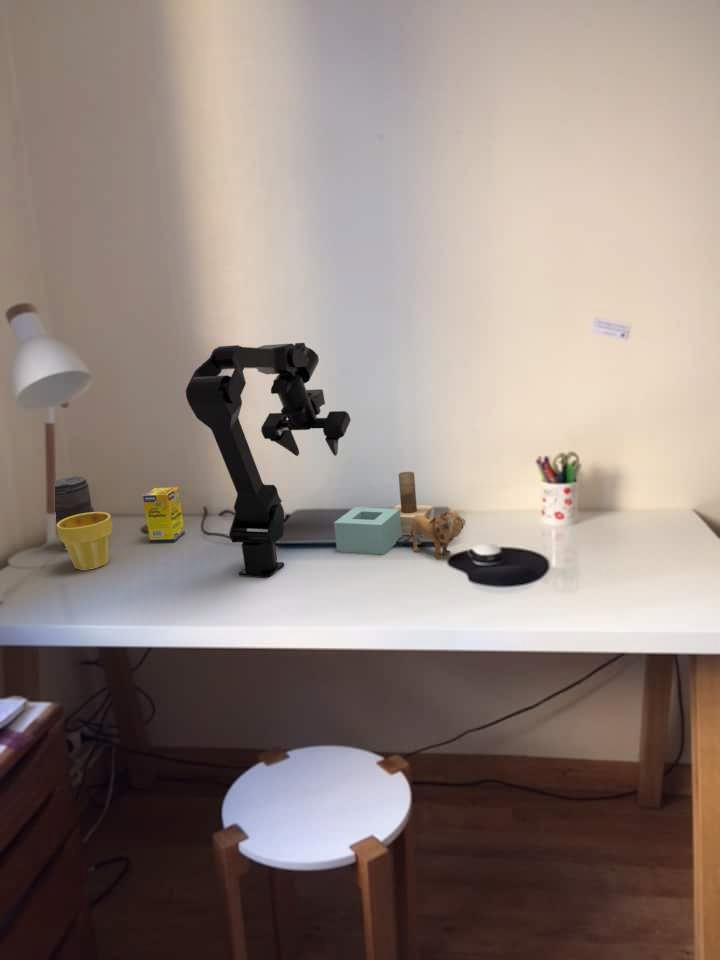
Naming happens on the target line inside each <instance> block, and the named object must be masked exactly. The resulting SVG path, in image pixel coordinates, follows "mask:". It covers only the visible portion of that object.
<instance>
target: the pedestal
mask: <svg viewBox="0 0 720 960" xmlns="http://www.w3.org/2000/svg"><path fill="white" fill-rule="evenodd" d="M416 505H417V504H416ZM392 509H400V515H401V528H402V533H410V532H411V524H412V519H413V518H414V517H415V516H416V515H423V516H425V517H426V518H427V519H429V520H433V519H434V518H435V507H434V505H422V504H421V505H417V511H416V512H414V513H403V512H402V511H401V504H397V505H395V506H394V507H392Z"/></svg>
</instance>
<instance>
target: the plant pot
mask: <svg viewBox="0 0 720 960" xmlns="http://www.w3.org/2000/svg"><path fill="white" fill-rule="evenodd" d="M56 531H57V535H58V539H59V541H60V543H61V542H63V543H64V545H65V547H66V549H67V550H66V551H67V553H68V555H69V557H70V559H71V562H72V565H73V566H74V569H76V568H77V569H90V568H96V567H99V566H102V565H104V566H106V565H108V564H109V562H108V561H110V541H111V533H113V531H114V529H113V520H112V516H111V514H110V513H109V512H103V511H94V512H89V513H83V514H78V515H74V516H70V517H68V518H65V519H63V520H61V521H60V522H58V523H57V524H56ZM63 543H62V544H63ZM105 564H106V565H105ZM102 567H103V566H102ZM77 569H76V570H77Z"/></svg>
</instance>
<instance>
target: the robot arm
mask: <svg viewBox="0 0 720 960" xmlns="http://www.w3.org/2000/svg"><path fill="white" fill-rule="evenodd" d="M319 361H320V359H319V355H318V354H317V353H316V352H315V350H313V349H311V348H310V347H307V346H306V343H305V342H297V343H296V342H295V344H293V343H281V344H280V343H278V344H265V345H261V346H258V347H249V346H242V345H241V346H240V345H238V344H236V345H222V346H221V345H220V346H217V347H216V348H214V349H213V350H212V352H211V354H210V356H209V358H207V360H206V361H204V362H203V363H202V364H201V365H200V366H199V367H197V368H196V369H195V370H194V372H193V374H192V376H191V378H190V381H189V382H188V384H187V386H186V390H185V399H186V400H187V404H188V406H189V407H190V409H191V410H192V412H193V414H194V415H195V418H196V419H197V420H199V421H200V422H201V423H203V424H204V425H205V426H206V427H208V429H210V431H211V432H212V435H213V438H214V439H215V442H216V445H217V447H218V449H219V451H220V455H221V457H222V460H223V462H224V464H225V466H226V467H225V468H226V470H227V472H228V474H229V476H230V479H231V482H232V484H233V486H234V489H235V492H236V494H237V495H236V499H235V502H234V505H233V510H234V517H233V520H232V524H231V527H230V530H229V533H228V535H229V538H230V540H231V543H232V544H233V543H234V544H235V543H241V549H242V556H243V564H244V567H243V568H242V569H241V570H240V571H238V575H239V576H245V577H259V578H270V577H271V576H272V575H273V574H275V573H276V572H278V570H280V569H281V568H283V567H284V566H285V563H284V562H282V561H278V556H277V548H276V547H277V546H276V542H277V541H279V540H281V538H283V537H284V529H285V527H284V526H285V525H284V524H285V523H284V522H285V521H284V519H285V511H284V507H283V505H282V502H283V501H282V499H281V498H280V495H279V491H278V488H277V487H276V485H274V484H265V483H264V482H263V480H262V478H261V475H260V473H259V469H258V467H257V464H256V462H255V458H254V457H253V456H254V455H253V454H252V451H251V449H250V446H249V443H248V440H247V438H246V435H245V433H244V430H243V428H242V425H241V422H240V419H239V416H240V413H241V409H242V405H243V400H242V396H241V395H242V394H243V391H244V389H245V387H246V384H247V382H246V378H245V374H244V369H256V370H257V372H259V373H261V374H265V375H276V377H275V379H274V380H273V384H272V386H271V388H270V393H271V395H275V394H276V395H278V398H279V400H280V403H281V406H282V408H281V409H280V412H269V413H268V415H267V417H266V418H265V420H264V422H263V424H262V426H261V429H260V432H261V434H262V437H263V438H264V439H265V440H270V442H274V443H276V444H278V445H280V446H281V447H283V448H284V449H286V450H287V451H289V452H290V453H291V454H293V455H294V456H297V457H299V455H300V449H299V446H298V445H297V442H296V440H295V437H294V434H293V432H292V431H307V430H311V429H323V430H322V431H323V435H324V436H325V438H324V439H325V442H326V444H327V445H328V447H329V450H330V451H331V453H332V455H333V456H337V455H338V452H339V450H338V449H339V440H340V439H341V438H343V437H344V436H345V434H346V433H347V430H348V427H349V425H350V423H351V421H352V419H351V417H350V414H349V413H348V412H347V411H345V410H338V411H329V413H328V414H327V417H317V416H318V415H320V413H321V407H322V406H325V405H326V400H325V395H324V390H323V389H322V388H321V389H306V386H305V384H306V383H308V382H309V381H310V379H311V378H312V376H313V374H314V372H315V371H316V368H317V366H318V364H319ZM223 370H233V372H232V374H231V376H230V375H220V374H221V373H222V372H223ZM248 530H249V531H248ZM250 530H267V531H250Z"/></svg>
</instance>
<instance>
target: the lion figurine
mask: <svg viewBox="0 0 720 960" xmlns="http://www.w3.org/2000/svg"><path fill="white" fill-rule="evenodd" d="M465 525H466V519H464V518H462V517H461V514H459V513H458V511H457V510H455V509H452V510H447V511H445V512H443V513H441V514H439V515H438V516H434V519H433V520H429V519H427V518H426V517H425V516H423V515H416V516H415V517H414V518H413V519H412V524H411V532H410V535H409V536H407V538H406V539H404V540H402V543H403V544H406V543H409V542H410V540H411V539H412V537H413V540H412V547H413V552H414V553H417V552H420V551H421V549H420V548H419V547H418V546H419V545H422V541H421V540H420V538H421V537H422V536H421V535H423V537H425V538H426V539H427V540H429V541H433V544H434V550H435V558H436V559H438V560H442V559H444V556H443V554H445V555H450V554H451V550H450V549H449V550H448V545H449V544H450V543H452V541H454V539H455V538H456V537H458V536H459V535H460V534H461V532H462V530H464V526H465ZM412 534H413V536H412ZM441 545H442V547H441ZM441 549H442V551H441Z"/></svg>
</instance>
